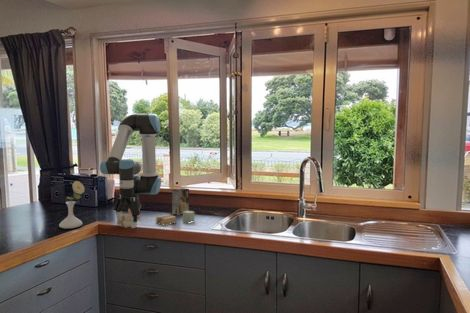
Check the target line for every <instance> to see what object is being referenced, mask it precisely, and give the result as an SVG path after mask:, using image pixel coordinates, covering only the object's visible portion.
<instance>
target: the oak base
mask: <svg viewBox="0 0 470 313" xmlns="http://www.w3.org/2000/svg"><path fill="white" fill-rule="evenodd" d="M155 222H157V223H156V224H158V223H160V224H159V225H161V224H164V225H165V226H167V225H166V224H170V223H174V222H176V223H177V216H176V215H173V214H169V213H168V214H164V215H163V214H162V215H158V216H155ZM174 224H175V223H174ZM164 225H163V226H164ZM170 225H171V224H170Z"/></svg>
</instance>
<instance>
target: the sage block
mask: <svg viewBox="0 0 470 313" xmlns="http://www.w3.org/2000/svg"><path fill="white" fill-rule="evenodd" d="M183 221H184V222H191V221H194V222H195V211H194V210H189V211H185V212H183V215H182V222H183Z"/></svg>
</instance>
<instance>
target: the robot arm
mask: <svg viewBox="0 0 470 313" xmlns="http://www.w3.org/2000/svg"><path fill="white" fill-rule="evenodd" d="M117 131H118V132H117V134H116V136H115V140H114V141H113V144H112V147H111V150H110V152H109V153H108V154H109V155H108V157H107V159H106V160H103V161H101V162H100V163H99V171H100V173H101V174H103V175H118V176H119V181H118V182H119V190H118V191H119V192H118V193H119V194H118V195H117V196H116V202H115V205H114V208H113V210H114V211H115V212H116V224H117V225H120V215H123V214H122V213H123V212H128V209H130V211H131V213H132V226H131V229H135V228H138V226H137V225H138V224H137V222H138V219H137V215H140V216H141V212H139V209H140V210H141V209H142V204H141V201H140V198H139V195H158V194H159V193H160V191H161V190H160V189H161V186H162V178H161V176H159V174H158V172H157V170H156V169H157V168H156V167H157V163H156V136H157V135H158V132H160V131H161V121H160V118H159V115H157V114H156V113H136V112H135V113H130V114H128V115H127V116H125V117H124V118H123V119H122V120H121V122H120V123H119V124H118V128H117ZM134 132H139V133H138V134H139V136H141V151H142V154H141V155H142V156H141V157H142V158H141V160H142V163H141V162H138V161H135V160H134V159H130V158H129V159H127V158H126V159H125V158H123V156H124V153H125V151H126V148H127V146H128V143H129V140H130V137H131V135H133V133H134ZM141 164H142V165H141ZM141 171H142V172H141ZM140 172H141V174H140V175H139V173H140Z"/></svg>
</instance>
